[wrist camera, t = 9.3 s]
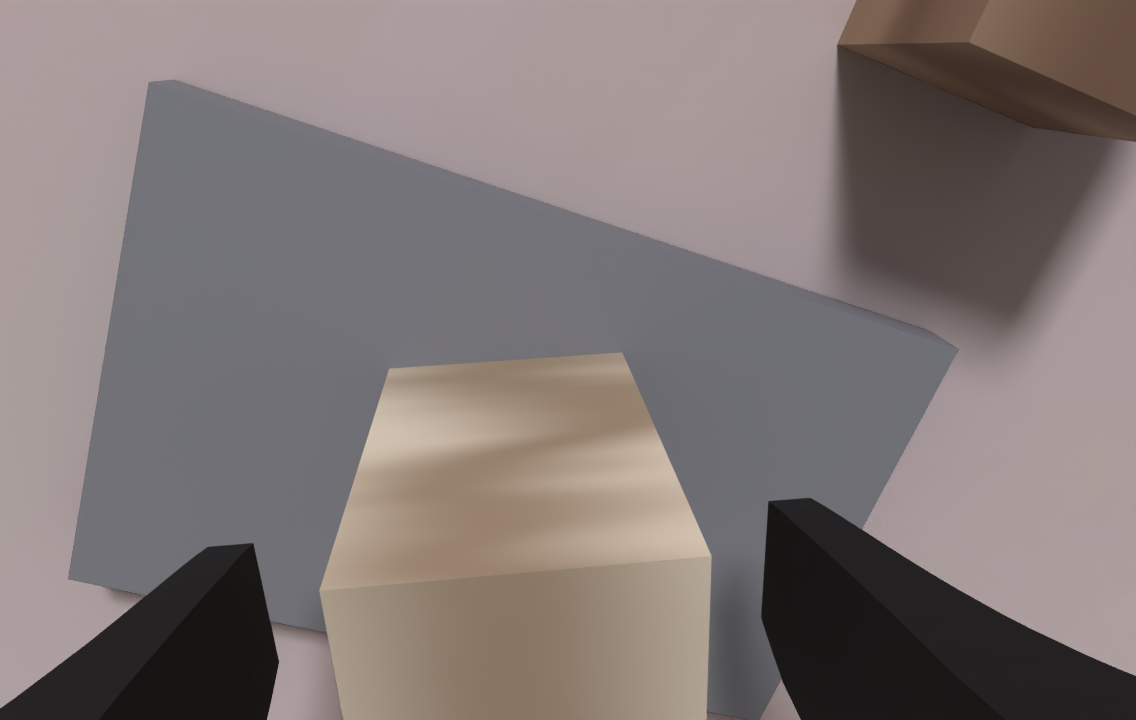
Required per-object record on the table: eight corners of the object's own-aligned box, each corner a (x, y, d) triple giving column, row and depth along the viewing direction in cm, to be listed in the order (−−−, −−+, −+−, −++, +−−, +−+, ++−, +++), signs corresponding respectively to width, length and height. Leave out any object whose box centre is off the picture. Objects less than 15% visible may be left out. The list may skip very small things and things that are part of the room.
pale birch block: (622, 352, 14) (711, 555, 8) (625, 547, 15) (702, 832, 10) (389, 368, 14) (319, 590, 8) (414, 565, 15) (371, 868, 9)
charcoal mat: (929, 331, 15) (958, 349, 14) (744, 687, 18) (758, 722, 17) (173, 79, 13) (148, 82, 12) (93, 547, 15) (67, 579, 14)
